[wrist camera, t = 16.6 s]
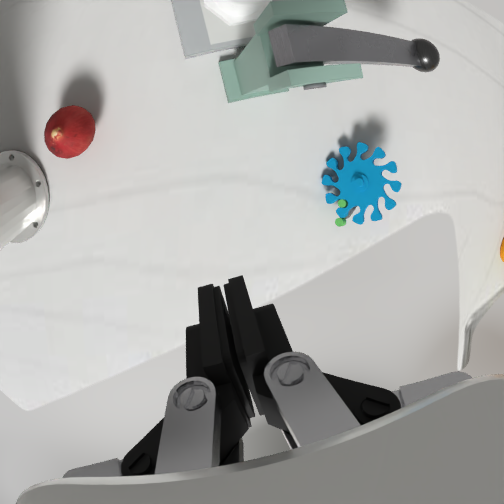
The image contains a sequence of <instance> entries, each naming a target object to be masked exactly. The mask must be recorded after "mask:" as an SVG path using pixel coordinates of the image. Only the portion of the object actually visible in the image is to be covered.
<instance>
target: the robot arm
mask: <svg viewBox="0 0 504 504" xmlns="http://www.w3.org/2000/svg"><path fill="white" fill-rule="evenodd" d="M40 182H41V184H40ZM48 207H49V193H48V186H47V183H46V179H45V177H44V175H43V172H42V170H41V169H40V167H39V166H38V164H37V163H36V162H35V161H34V160H33V159H32V158H31V157H30V156H28V155H27V154H25V153H23V152H20V151H17V150H8V151H4V152H1V153H0V251H1V250H2V249H3V248H4V247H5V246H6V245H7V244H8V243H9V242H11V243H21V242H24V241H27V240H29V239H30V238H32V237H33V236H34V235H35V234H36V233H37V232H38V231H39V230H40V229H41V228H42V226H43V224H44V222H45V220H46V217H47V214H48ZM228 281H229V283H228V284H224V290H225V295H226V301H227V306H228V310H227V307H226V304H225V301H224V298H223V295H222V292H221V289H220V287H219V286H217V287H214V286H213V284H209V285H206V286H202V287H199V288H198V303H199V322H200V324H196V325H193V326H189V327H187V328H186V375H187V379H184V380H182V381H180V382H179V383H178V384H176V385H175V386H174V387H173V389H172V390H171V391H170V394H169V396H168V401H167V406H166V411H165V417H164V418H163V419H162V420H161V421H160V422H159V423H158V424H157V425H156V426H155V427H154V428H153V429H152V430H151V431H150V432H149V433H148V434H147V435H146V436H145V437H144V438H143V439H142V440H141V441H140V442H139V443H138V444H137V445H135V446H134V447H133V448H132V449H131V450H130V451H129V452H128V453H127V454H126V456H125V457H124V459H123V460H119V459H117V458H116V459H112V460H108V461H104V462H100V463H96V464H92V465H88V466H84V467H79V468H75V469H72V470H69V471H68V472H67V473H66V474H65V475H64V476H63V478H59V479H53V480H49V481H45V482H42V483H39V484H36V485H33V486H31V487H29V488H28V489H26V490H25V491H23V492H22V493H21V495H20V496H19V498H18V500H17V502H16V504H504V375H503V374H494V375H485V376H480V377H475V378H472V377H471V376H470V375H468V374H466V373H463V372H459V371H458V372H451V373H448V374H445V375H441V376H438V377H434V378H431V379H427V380H424V381H420V382H416V383H413V384H409V385H405V386H401V387H399V390H397V391H392V392H391V391H389V390H386V389H384V388H380V387H375V386H371V385H367V384H363V383H360V382H355V381H352V380H348V379H344V378H340V377H337V376H334V375H330V374H326V373H323V372H321V370H320V369H319V368H318V366H317V365H316V364H315V362H314V361H313V360H312V359H311V358H310V357H309V356H308V355H306V354H304V353H300V352H293V351H292V348H291V346H290V344H289V341H288V339H287V336H286V334H285V331H284V329H283V326H282V324H281V321H280V319H279V317H278V314H277V312H276V309H275V307H274V305H273V304H269V305H266V306H262V307H259V308H255V309H253V308H252V305H251V302H250V298H249V295H248V292H247V288H246V285H245V282H244V278H243V275H242V276H238V277H235V278H231V279H228ZM228 312H229V313H228ZM249 389H250V391H249ZM250 392H251V394H252V397H253V399H254V402H255V404H256V407H257V409H258V412H259V414H260V415H264V414H265V417H266V420H267V422H268V424H270V425H272V426H275V427H277V428H279V429H281V430H282V432H283V435H284V437H285V439H286V441H287V443H288V444H289V446H290V448H291V450H288V451H285V452H281V453H277V454H273V455H270V456H266V457H261V458H257V459H253V460H248V461H244V443H243V439H242V436H243V435H244V434H245V433H246V431H247V430H248V429H249V428H248V427H251V422H250V418H252V417H255V413H254V409H253V405H252V400H251V396H250Z"/></svg>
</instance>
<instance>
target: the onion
mask: <svg viewBox="0 0 504 504" xmlns="http://www.w3.org/2000/svg"><path fill="white" fill-rule="evenodd" d="M94 134H95V121H94V119H93V117H92V115H91V113H89V112H88V111H87V110H86V109H84V108H82V107H79V106H75V105H71V106H67V107H63V108H60V109H59V110H58V111H57V112H55V113H54V114H53V115H52V116H51V117H50V119H49V120H48V122H47V124H46V128H45V131H44V136H45V143H46V145H47V147H48V149H49V150H50V151H51V152H52V153H53V154H54V155H55V156H57V157H61V158H67V159H68V158H72V157H75V156H78V155H80V154H81V153H82V152H84V151H85V150H86V149H87V148H88V147H89V145H90V144H91V142H92V141H93V138H94Z"/></svg>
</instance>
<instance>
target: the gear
mask: <svg viewBox="0 0 504 504" xmlns="http://www.w3.org/2000/svg"><path fill="white" fill-rule="evenodd" d="M367 150H368V146H367V145H366V144H364V143H361V142H358V143H357V155H356V157H355V159H354V160H353V161H352V162H349V160H348V157H349V155H350V153H351V149H350V148H349V147H341V148H339V152H340V154H341V155H342V157H343V159H344V168H343V169H342V170H339V169H338V161H337V160H336V159H334V158H331V159H330V160H328V162H327V163H326V165H327V166H328V167H330V168H332V169H333V170H334V171H335V172H336V173H337V175H338V177H339V180H338V182H336V183H335V182H334V181H333V179H332V177H331V176H328V175H324V177H323V179H322V184H323V185H327V186H329V185H333V186H335V187H337V188H338V189H339V190H340V195H339V196H336V195H334V194H332V193H327V194H326V201H327V203H328V204H332V203H334V202H335V201H337V200H339V201H338V205H339V207H340V208H338V209H337V210H336V212H337V214H338V215H339V217H340V218H337V219H336V221H335V223H336V225H337V226H344V225H345V224H346V220H345V219H347V218H349V217H350V216H351V214H352V213H353V211H354V210H355V208H356V207H357V206H359V207H360V213H358V214H356V215H355V216H354V217H353V221H354V222H355V223H357V224H363V222H364V213H365V210H366V208H367V207H368V205H373V207H374V211H373V213H372V214H371V220H372V221H378V220H381V219H382V214H381V213H380V211H379V209H378V199H379V197H384V198H385V207H386V209H388V210H391V209H392V208H394V207H395V206H396V202H395V201H394V200H392V199H390V198H389V197H388V196H387V195H386V193H385V191H384V185H385V184H390V186H391V188H392V190H393V191H395V192H399V190H400V188H401V183H400V182H399V181H390V180H387V179H385V178H384V177H383V176H382V171H383V170H388V171H390V172H391V173H396V172H397V166H396V163H395V162H393V161H391V162H389V163H388V164H386V165H384V166H375V165H374V163H373V162H374V160H375V159H376V158H384V157H385V155H386V154H385V153H384V151H383V150H382V149H381V148H380V147H377V148H376V149H375V151H374V153H373V155H372V156H371V157H369V158H368V159H366V160H362V159H361V155H362V154H363V153H365V152H366V151H367ZM340 199H341V200H340Z"/></svg>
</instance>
